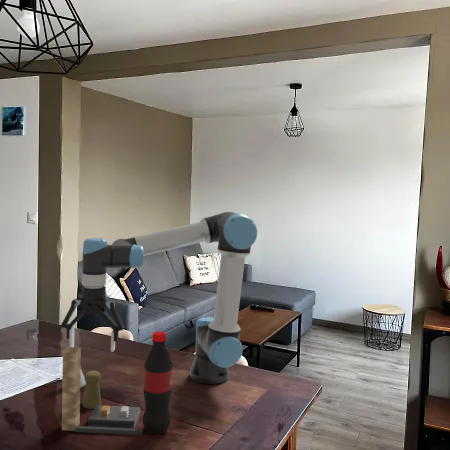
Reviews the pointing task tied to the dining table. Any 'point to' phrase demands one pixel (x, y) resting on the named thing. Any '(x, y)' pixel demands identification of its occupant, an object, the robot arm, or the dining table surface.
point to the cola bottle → (157, 386)
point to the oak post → (71, 388)
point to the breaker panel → (114, 416)
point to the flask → (82, 379)
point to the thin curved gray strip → (108, 430)
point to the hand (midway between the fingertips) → (92, 349)
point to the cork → (92, 390)
